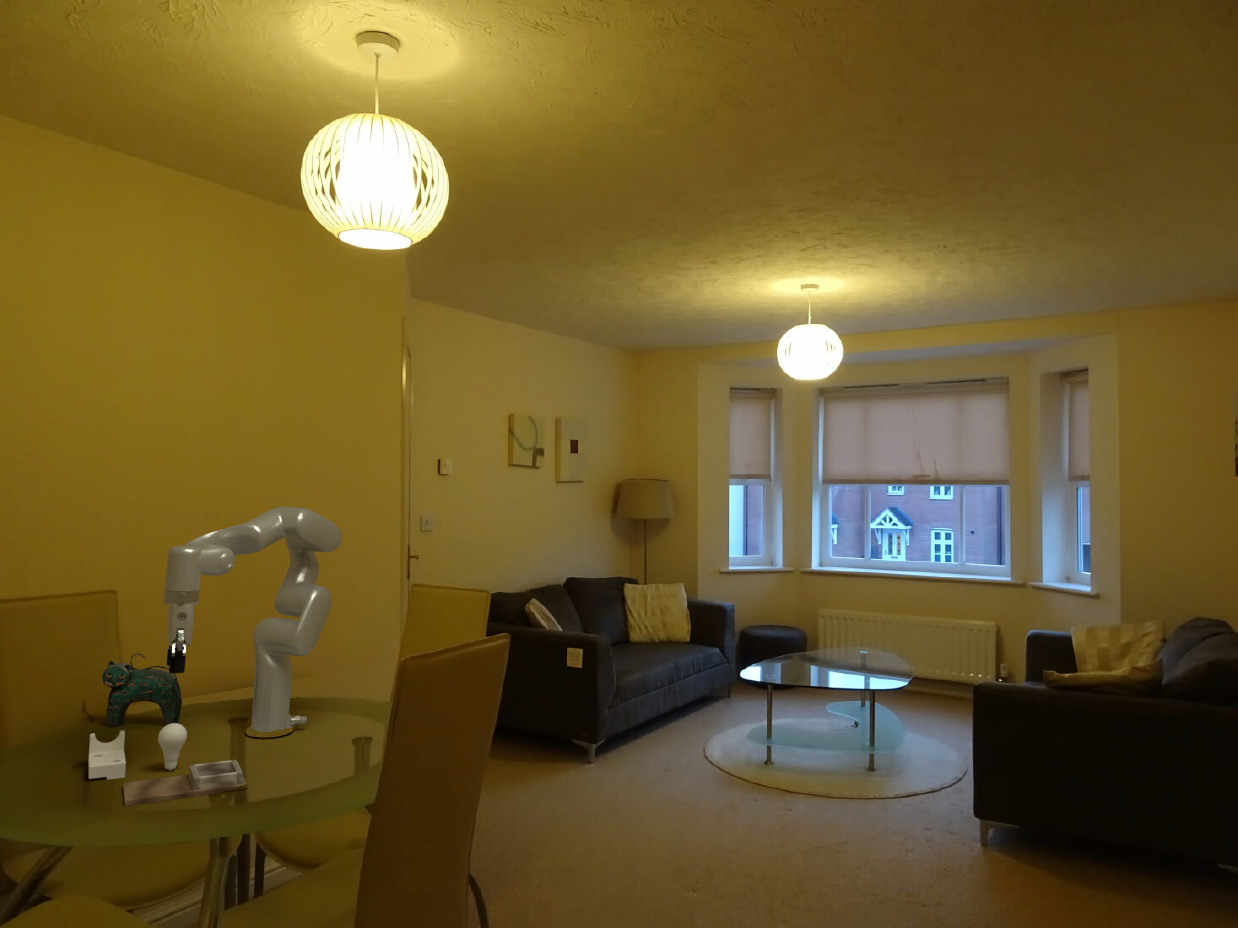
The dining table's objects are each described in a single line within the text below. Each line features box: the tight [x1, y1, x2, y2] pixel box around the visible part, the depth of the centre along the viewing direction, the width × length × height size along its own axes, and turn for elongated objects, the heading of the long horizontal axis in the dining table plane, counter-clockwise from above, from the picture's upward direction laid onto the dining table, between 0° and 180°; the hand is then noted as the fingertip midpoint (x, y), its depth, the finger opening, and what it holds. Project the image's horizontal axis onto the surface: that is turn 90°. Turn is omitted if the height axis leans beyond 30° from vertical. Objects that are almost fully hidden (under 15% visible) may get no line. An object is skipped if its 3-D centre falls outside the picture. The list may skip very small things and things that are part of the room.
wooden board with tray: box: [122, 759, 248, 807], centre depth 188 cm, size 24×12×4 cm, turn 123°
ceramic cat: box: [101, 652, 183, 728], centre depth 232 cm, size 20×6×20 cm, turn 99°
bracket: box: [87, 729, 127, 780], centre depth 196 cm, size 13×7×8 cm, turn 33°
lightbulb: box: [157, 722, 188, 771], centre depth 198 cm, size 6×6×11 cm
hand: (175, 668), depth 200 cm, fingers open, 9 cm apart
